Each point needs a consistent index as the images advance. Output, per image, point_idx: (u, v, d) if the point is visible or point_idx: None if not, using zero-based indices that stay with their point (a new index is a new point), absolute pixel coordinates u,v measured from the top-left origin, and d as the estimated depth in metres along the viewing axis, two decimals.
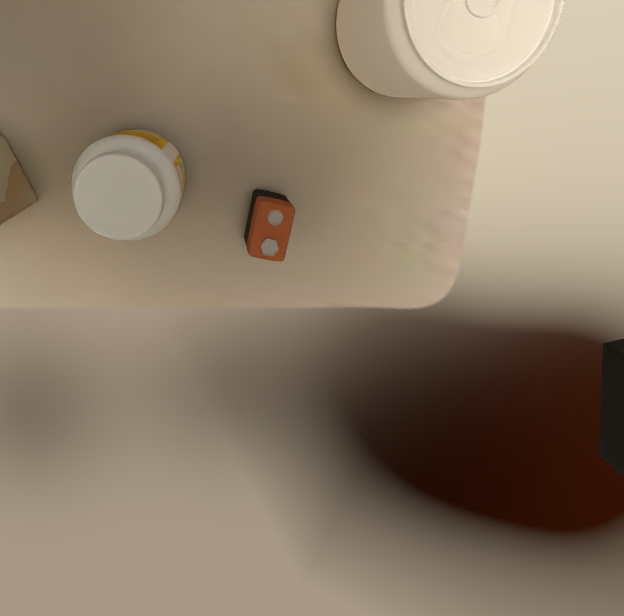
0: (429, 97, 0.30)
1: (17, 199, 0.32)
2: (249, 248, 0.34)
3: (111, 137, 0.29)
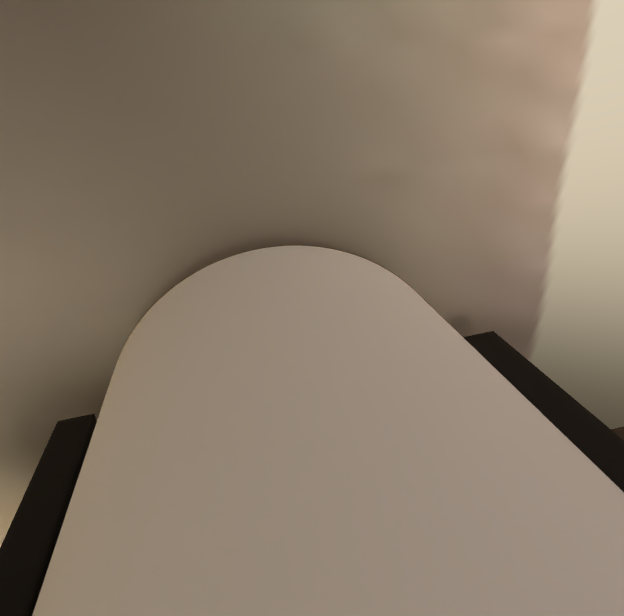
0: None
1: None
2: None
3: None
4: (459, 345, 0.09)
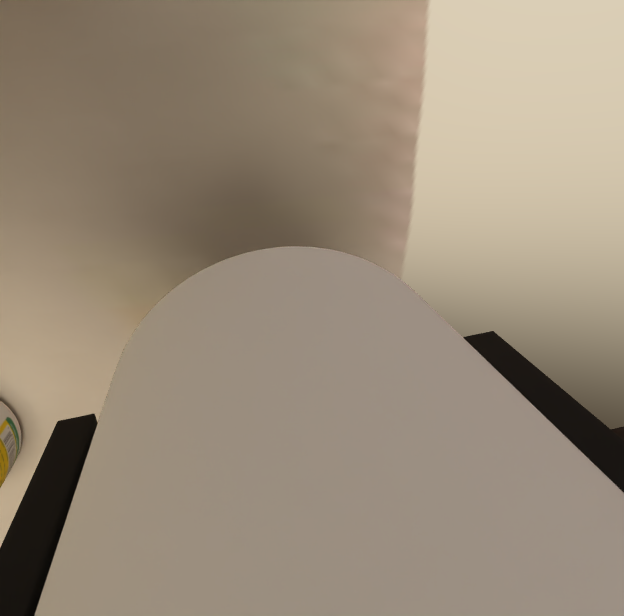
0: None
1: None
2: None
3: None
4: (459, 346, 0.09)
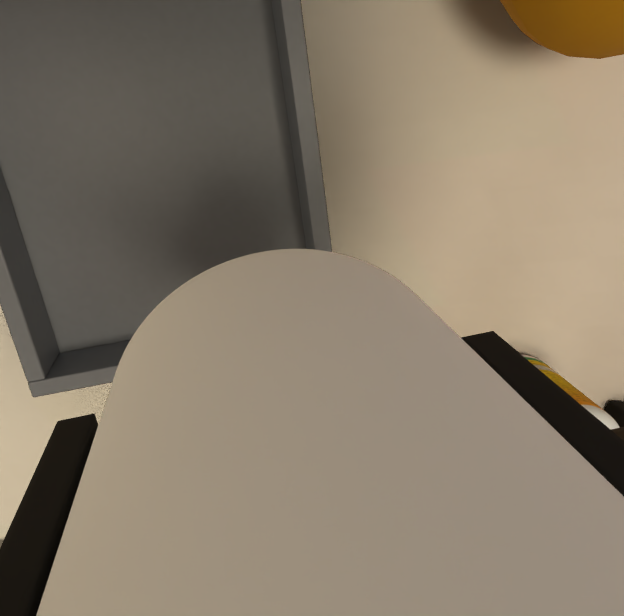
0: None
1: None
2: None
3: None
4: (460, 349, 0.09)
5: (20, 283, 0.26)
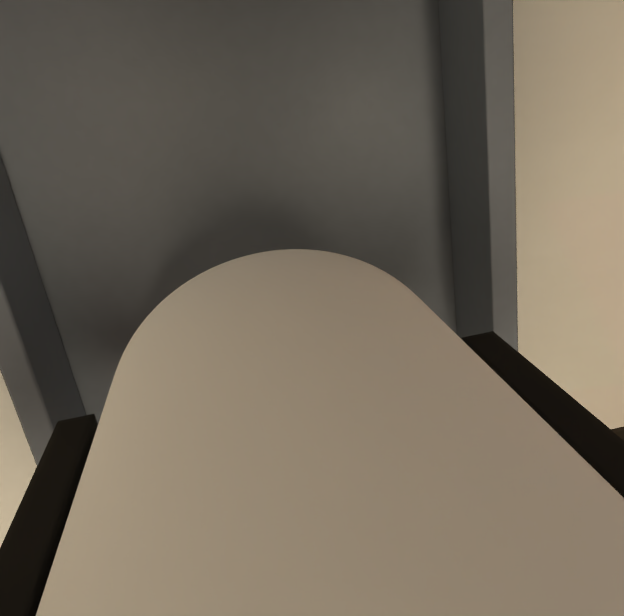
0: None
1: None
2: None
3: None
4: (459, 350, 0.09)
5: (51, 389, 0.17)
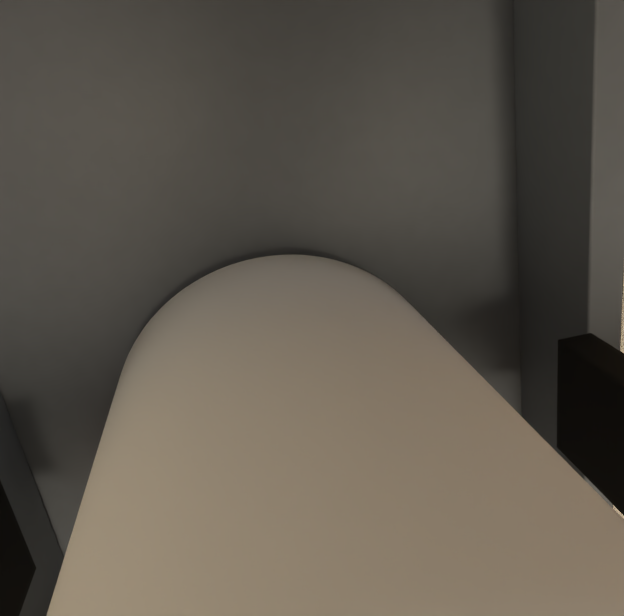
0: None
1: None
2: None
3: None
4: (437, 345, 0.10)
5: None
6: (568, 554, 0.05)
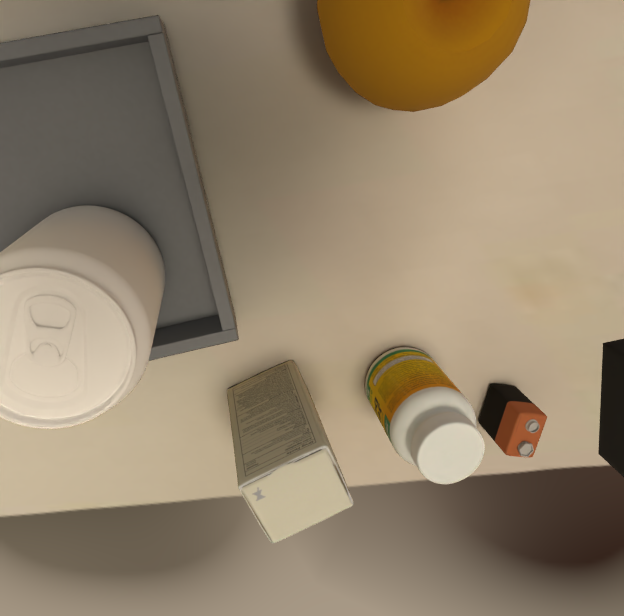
0: None
1: (322, 426, 0.38)
2: (506, 449, 0.40)
3: (429, 393, 0.34)
4: (109, 228, 0.30)
5: None
6: (69, 246, 0.25)
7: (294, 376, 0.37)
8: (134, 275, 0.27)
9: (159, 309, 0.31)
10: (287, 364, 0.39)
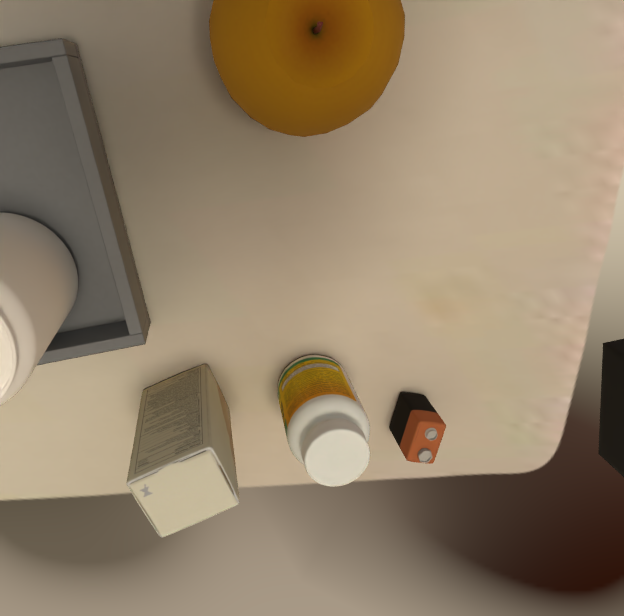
0: None
1: (229, 427, 0.40)
2: (407, 455, 0.42)
3: (323, 400, 0.36)
4: (12, 236, 0.31)
5: None
6: None
7: (202, 380, 0.39)
8: (24, 283, 0.28)
9: (62, 313, 0.33)
10: (200, 367, 0.41)
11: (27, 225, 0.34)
